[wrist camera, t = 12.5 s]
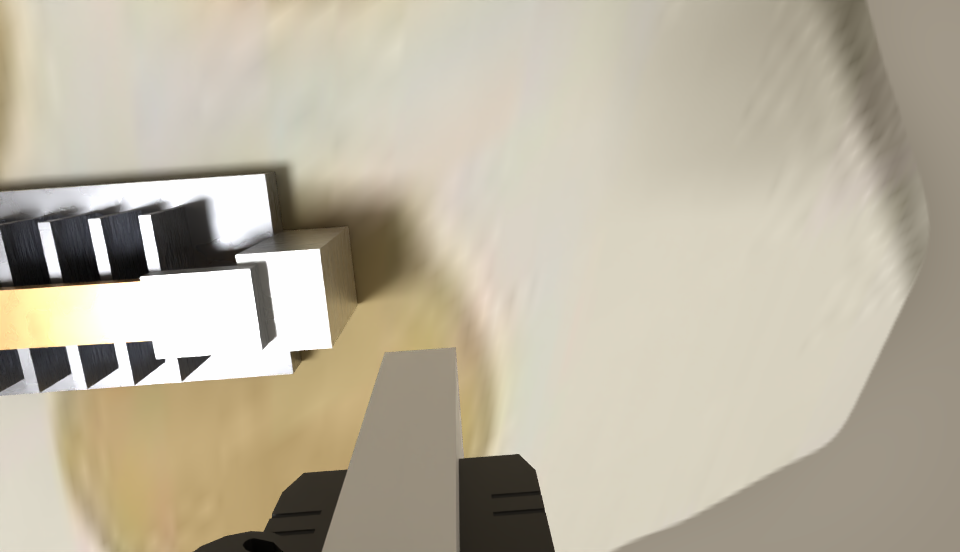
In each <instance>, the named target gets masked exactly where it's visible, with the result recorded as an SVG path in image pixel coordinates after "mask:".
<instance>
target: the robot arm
mask: <svg viewBox="0 0 960 552" xmlns="http://www.w3.org/2000/svg"><path fill="white" fill-rule="evenodd" d="M194 552H555V550H554V546H553V542H552V537H551V533H550V529H549V525H548V521H547V516H546V513H545V508H544V504H543V500H542V495H541V492H540V487H539V483H538V479H537V474H536V470H535V469H534V468H533V467H532V466H531V465H529V464H528V463H527V462H526V461H525V460H524V459H523V458H522V457H521V456H520V455H519V454H515V455H502V456H489V457H476V458H464V453H463V439H462V426H461V413H460V399H459V386H458V373H457V359H456V347H455V348H441V349H427V350H413V351H399V352H385V354H384V357H383V360H382V363H381V366H380V370H379V373H378V376H377V379H376V382H375V385H374V388H373V392H372V395H371V398H370V401H369V404H368V407H367V410H366V414H365V417H364V420H363V423H362V426H361V429H360V432H359V436H358V439H357V442H356V445H355V448H354V451H353V455H352V458H351V461H350V464H349V467H348V470H336V471H323V472H310V473H303V474H302V475H301V476H300V477H299V478H298V479H297V480H296V481H295V482H293V483H292V484H291V485H290V486H289V487H288V488H287V489H286V490H285V491H283V492H282V494H281V496H280V498H279V501H278V503H277V505H276V507H275V509H274V511H273V513H272V519H269V521H268V524H267V526H266V528H265V530H264V532H255V531H250V532H244V533H239V534H234V535H229V536H225V537H223V538H220V539H218V540H215V541H213V542H211V543H208V544H206V545H203V546H201V547H200V548H198V549H197V550H195V551H194Z"/></svg>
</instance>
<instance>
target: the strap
mask: <svg viewBox="0 0 960 552" xmlns="http://www.w3.org/2000/svg"><path fill="white" fill-rule="evenodd" d="M137 341H153V340H152V335H151V330H150V325H149V319H148V314H147V309H146V304H145V299H144V294H143V289H142V284H141V279H125V280H109V281H93V282H78V283H62V284H47V285H31V286H15V287H0V350H8V349H24V348H41V347H57V346H73V345H89V344H105V343H121V342H137Z"/></svg>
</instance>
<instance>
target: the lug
mask: <svg viewBox="0 0 960 552" xmlns="http://www.w3.org/2000/svg"><path fill="white" fill-rule="evenodd" d="M236 262H237V265H235V266H221V267H207V268H193V269H179V270H165V271H153V272H150V273H148V274H146V275H143V276H141V277H140V279H141V284H142V289H143V294H144V299H145V304H146V309H147V314H148V319H149V325H150V330H151V335H152V340H153V345H154V350H155V355H156V359H163V358H177V357H190V356H204V355H217V354H231V353H244V352H251V354H257V353H270V352H284V351H297V350H311V349H324V348H332V347H333V345H334V344H335V342H336V340H337V339H338V337H339V335H340V334H341V332H342V330H343V329H344V327H345V325H346V324H347V322H348V320H349V319H350V317H351V315H352V314H353V312H354V310H355V309H356V307H357V306H358V305H357V296H356V288H355V279H354V270H353V262H352V253H351V244H350V236H349V227H348V226H343V227H329V228H315V229H300V230H286V231H281V232H279V233H277V234H275V235H273V236H271V237H269V238H267V239H265V240H264V241H262V242H260V243H258V244H256V245H254V246H252V247H250V248H248V249H246V250H244V251H242V252H240V253H239V254H237V255H236Z"/></svg>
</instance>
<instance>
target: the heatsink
mask: <svg viewBox="0 0 960 552" xmlns="http://www.w3.org/2000/svg"><path fill="white" fill-rule="evenodd" d="M281 231H283V226H282V219H281V212H280V204H279V197H278V190H277V183H276V176H275V172H269V173H255V174H240V175H225V176H211V177H196V178H182V179H167V180H152V181H138V182H123V183H108V184H94V185H79V186H64V187H50V188H35V189H20V190H6V191H0V287H15V286H31V285H47V284H62V283H78V282H93V281H109V280H125V279H140V277H141V276H143V275H146V274H148V273H150V272H153V271H165V270H179V269H193V268H207V267H221V266H235V265H237V262H236V255H237V254H239V253H240V252H242V251H244V250H246V249H248V248H250V247H252V246H254V245H256V244H258V243H260V242H262V241H264V240H265V239H267V238H269V237H271V236H273V235H275V234H277V233H279V232H281ZM300 363H301V355H300V350H297V351H284V352H270V353H257V354H251V352H244V353H231V354H217V355H204V356H190V357H177V358H163V359H156V355H155V350H154V345H153V341H137V342H121V343H105V344H89V345H73V346H57V347H41V348H24V349H8V350H0V396H2V395H16V394H31V393H42V392H56V391H69V390H84V389H96V388H109V387H122V386H123V387H124V386H136V385H149V384H162V383H178V382H189V381H202V380H215V379H229V378H242V377H255V376H269V375H282V374H293V373H294V372H295V370H296V369H297V367H298V366H299V365H300Z"/></svg>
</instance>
